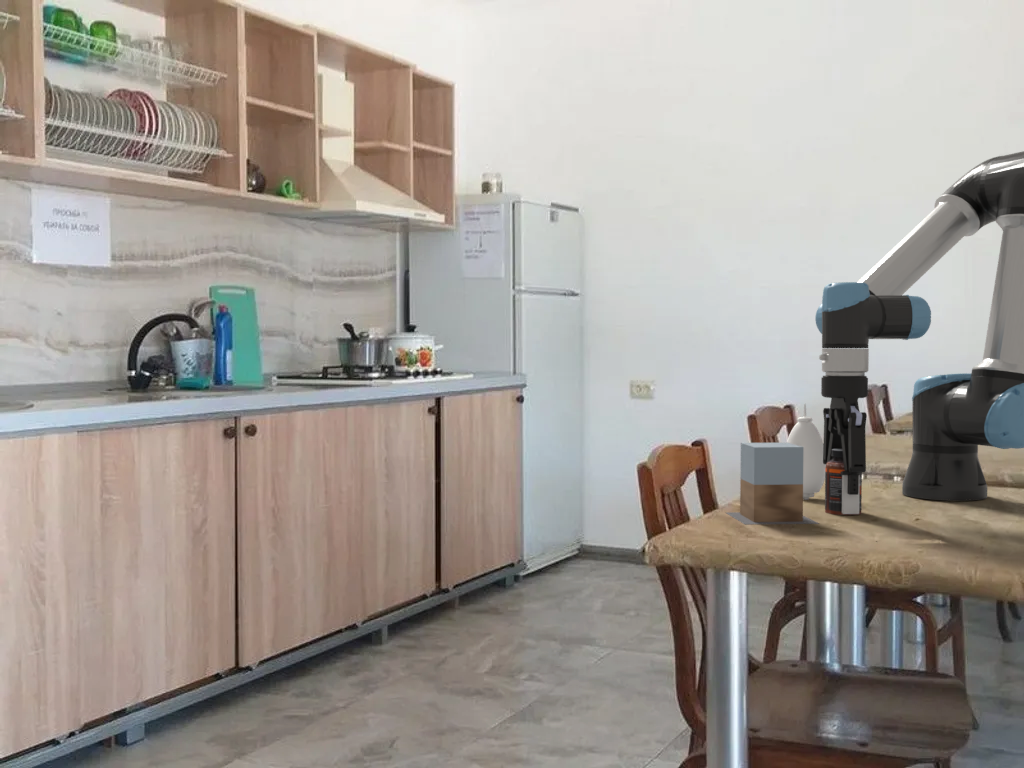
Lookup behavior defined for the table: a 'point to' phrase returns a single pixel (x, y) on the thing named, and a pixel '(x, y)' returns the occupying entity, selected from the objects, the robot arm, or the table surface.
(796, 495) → the walnut block
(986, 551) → the table surface
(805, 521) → the rubber mat
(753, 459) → the slate block
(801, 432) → the sauce bottle
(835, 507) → the supplement bottle
